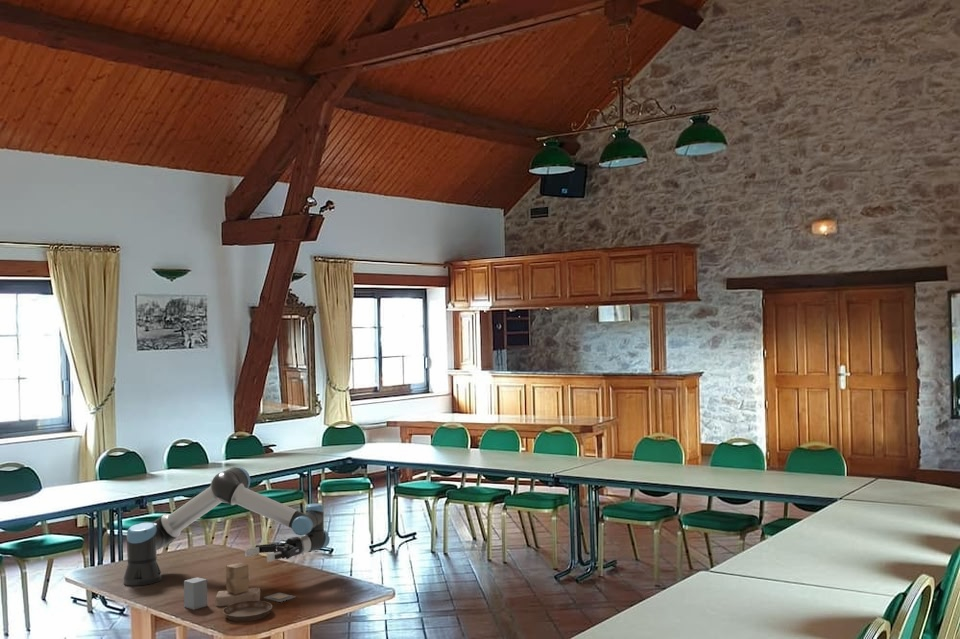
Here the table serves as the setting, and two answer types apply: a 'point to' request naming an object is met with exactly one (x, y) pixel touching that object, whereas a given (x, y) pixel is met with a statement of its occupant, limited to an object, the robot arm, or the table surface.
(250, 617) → the plant saucer
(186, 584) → the slate block
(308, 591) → the table surface
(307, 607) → the table surface
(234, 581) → the walnut block
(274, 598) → the card
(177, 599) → the table surface
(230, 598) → the brick
